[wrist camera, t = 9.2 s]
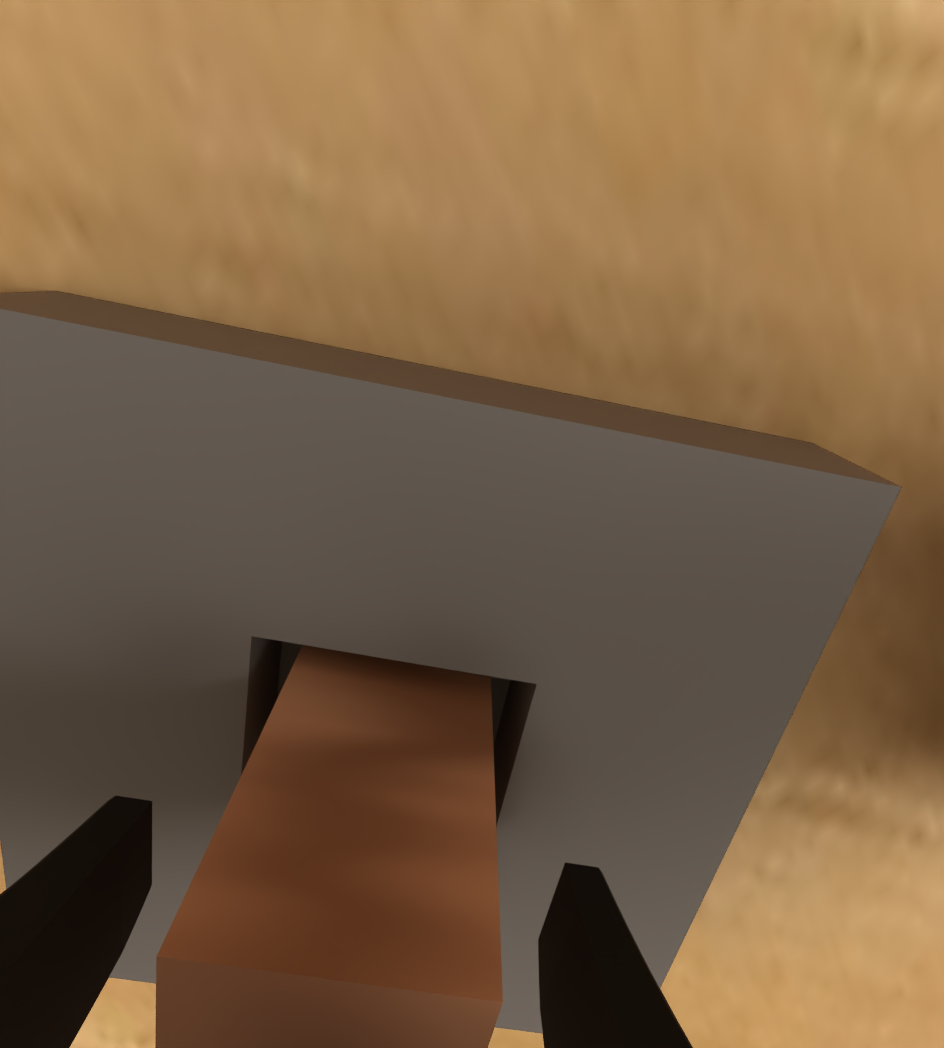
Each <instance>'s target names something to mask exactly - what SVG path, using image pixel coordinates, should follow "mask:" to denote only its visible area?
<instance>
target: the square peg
mask: <svg viewBox="0 0 944 1048" xmlns="http://www.w3.org/2000/svg"><path fill="white" fill-rule="evenodd" d="M502 1004H503V991H502V964H501V938H500V911H499V884H498V857H497V830H496V803H495V776H494V750H493V723H492V696H491V676H486V675H480V674H474V673H468V672H462V671H456V670H450V669H444V668H438V667H432V666H426V665H420V664H414V663H408V662H402V661H396V660H390V659H385V658H379V657H373V656H367V655H361V654H355V653H349V652H343V651H337V650H331V649H325V648H319V647H313V646H307V645H302V647H301V649H300V651H299V654H298V656H297V658H296V660H295V662H294V664H293V666H292V669H291V671H290V673H289V675H288V677H287V679H286V681H285V683H284V686H283V688H282V690H281V692H280V694H279V696H278V698H277V701H276V703H275V705H274V707H273V709H272V711H271V713H270V715H269V718H268V720H267V722H266V724H265V726H264V728H263V730H262V732H261V735H260V737H259V739H258V741H257V743H256V745H255V747H254V750H253V752H252V754H251V756H250V758H249V760H248V762H247V764H246V767H245V769H244V771H243V773H242V775H241V777H240V779H239V782H238V784H237V786H236V788H235V790H234V792H233V794H232V796H231V799H230V801H229V803H228V805H227V807H226V809H225V811H224V813H223V816H222V818H221V820H220V822H219V824H218V826H217V828H216V831H215V833H214V835H213V837H212V839H211V841H210V843H209V845H208V848H207V850H206V852H205V854H204V856H203V858H202V860H201V863H200V865H199V867H198V869H197V871H196V873H195V875H194V877H193V880H192V882H191V884H190V886H189V888H188V890H187V892H186V895H185V897H184V899H183V901H182V903H181V905H180V907H179V909H178V912H177V914H176V916H175V918H174V920H173V922H172V924H171V926H170V929H169V931H168V933H167V935H166V937H165V939H164V941H163V944H162V946H161V948H160V950H159V952H158V954H157V956H156V1048H488V1045H489V1042H490V1039H491V1036H492V1033H493V1030H494V1027H495V1024H496V1021H497V1018H498V1015H499V1012H500V1010H501V1007H502Z"/></svg>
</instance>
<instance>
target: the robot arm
mask: <svg viewBox="0 0 944 1048" xmlns="http://www.w3.org/2000/svg"><path fill="white" fill-rule="evenodd" d="M151 886H152V801H149V800H143V799H136V798H129V797H122V796H114V797H113V798H111V799H109V800H108V801H107V802H106V803H105V804H104V805H103V806H101V807H100V808H99V809H98V810H97V811H96V812H95V813H94V814H93V815H92V816H90V817H89V818H88V819H87V820H86V821H85V822H84V823H83V824H82V825H80V826H79V827H78V828H77V829H76V830H75V831H74V832H73V833H71V834H70V835H69V836H68V837H67V838H66V839H65V840H64V841H62V842H61V843H60V844H59V845H58V846H57V847H56V848H54V849H53V850H52V851H51V852H50V853H49V854H48V855H46V856H45V857H44V858H43V859H42V860H41V861H40V862H38V863H37V864H36V865H35V866H34V867H33V868H31V869H30V870H29V871H28V872H27V873H26V874H24V875H23V876H22V877H21V878H20V879H18V880H17V881H16V882H15V883H14V884H12V885H11V886H10V887H9V888H8V889H6V890H5V891H4V892H3V893H2V894H0V1048H69V1047H70V1046H71V1044H72V1042H73V1040H74V1039H75V1037H76V1035H77V1033H78V1031H79V1030H80V1028H81V1026H82V1024H83V1023H84V1021H85V1019H86V1017H87V1015H88V1014H89V1012H90V1010H91V1008H92V1007H93V1005H94V1003H95V1001H96V999H97V998H98V996H99V994H100V992H101V990H102V989H103V987H104V985H105V983H106V981H107V980H108V978H109V976H110V974H111V972H112V971H113V969H114V967H115V965H116V963H117V961H118V960H119V958H120V956H121V954H122V952H123V950H124V948H125V946H126V943H127V941H128V939H129V937H130V935H131V932H132V930H133V928H134V926H135V923H136V921H137V919H138V917H139V914H140V912H141V910H142V907H143V905H144V903H145V900H146V898H147V896H148V893H149V891H150V889H151ZM538 960H539V996H540V1014H541V1022H542V1031H543V1039H544V1048H693V1047H692V1045H691V1044H690V1042H689V1040H688V1038H687V1037H686V1035H685V1033H684V1031H683V1030H682V1028H681V1026H680V1024H679V1023H678V1021H677V1019H676V1017H675V1016H674V1014H673V1012H672V1010H671V1008H670V1006H669V1004H668V1003H667V1001H666V999H665V997H664V995H663V993H662V991H661V990H660V988H659V986H658V984H657V982H656V980H655V979H654V977H653V975H652V973H651V971H650V969H649V967H648V965H647V963H646V961H645V959H644V958H643V956H642V954H641V952H640V950H639V948H638V946H637V944H636V942H635V940H634V938H633V936H632V934H631V932H630V930H629V928H628V926H627V924H626V922H625V919H624V917H623V915H622V913H621V911H620V909H619V907H618V905H617V903H616V901H615V899H614V897H613V894H612V892H611V890H610V888H609V886H608V884H607V882H606V879H605V877H604V875H603V873H602V872H601V870H600V869H599V867H593V866H586V865H579V864H573V863H566V862H565V864H564V867H563V870H562V873H561V876H560V878H559V881H558V884H557V887H556V890H555V893H554V895H553V898H552V901H551V904H550V907H549V910H548V913H547V915H546V918H545V921H544V924H543V927H542V930H541V933H540V935H539V938H538Z"/></svg>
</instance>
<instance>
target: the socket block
mask: <svg viewBox="0 0 944 1048" xmlns="http://www.w3.org/2000/svg"><path fill="white" fill-rule="evenodd" d="M901 488H902V487H900V486H898V485H896V484H894V483H892V482H890V481H888V480H886V479H884V478H882V477H880V476H878V475H876V474H874V473H872V472H870V471H868V470H866V469H864V468H862V467H860V466H858V465H856V464H854V463H852V462H850V461H848V460H846V459H844V458H842V457H840V456H838V455H836V454H834V453H832V452H830V451H828V450H826V449H824V448H822V447H820V446H818V445H816V444H814V443H809V442H804V441H799V440H794V439H789V438H784V437H779V436H774V435H769V434H764V433H759V432H754V431H749V430H744V429H740V428H735V427H730V426H725V425H720V424H715V423H710V422H705V421H700V420H695V419H690V418H685V417H680V416H675V415H670V414H665V413H660V412H655V411H650V410H645V409H640V408H635V407H630V406H625V405H620V404H615V403H610V402H605V401H600V400H595V399H590V398H585V397H580V396H575V395H570V394H566V393H561V392H556V391H551V390H546V389H541V388H536V387H531V386H526V385H521V384H516V383H511V382H506V381H501V380H496V379H491V378H486V377H481V376H476V375H471V374H466V373H461V372H456V371H451V370H446V369H441V368H436V367H431V366H426V365H421V364H416V363H411V362H406V361H401V360H396V359H392V358H387V357H382V356H377V355H372V354H367V353H362V352H357V351H352V350H347V349H342V348H337V347H332V346H327V345H322V344H317V343H312V342H307V341H302V340H297V339H292V338H287V337H282V336H277V335H272V334H267V333H262V332H257V331H252V330H247V329H242V328H237V327H232V326H227V325H222V324H218V323H213V322H208V321H203V320H198V319H193V318H188V317H183V316H178V315H173V314H168V313H163V312H158V311H153V310H148V309H143V308H138V307H133V306H128V305H123V304H118V303H113V302H108V301H103V300H98V299H93V298H88V297H83V296H78V295H73V294H68V293H63V292H58V291H46V292H19V293H0V841H1V849H2V857H3V865H4V874H5V882H6V889H8V888H9V887H10V886H11V885H12V884H14V883H15V882H16V881H17V880H18V879H20V878H21V877H22V876H23V875H24V874H26V873H27V872H28V871H29V870H30V869H31V868H33V867H34V866H35V865H36V864H37V863H38V862H40V861H41V860H42V859H43V858H44V857H45V856H46V855H48V854H49V853H50V852H51V851H52V850H53V849H54V848H56V847H57V846H58V845H59V844H60V843H61V842H62V841H64V840H65V839H66V838H67V837H68V836H69V835H70V834H71V833H73V832H74V831H75V830H76V829H77V828H78V827H79V826H80V825H82V824H83V823H84V822H85V821H86V820H87V819H88V818H89V817H90V816H92V815H93V814H94V813H95V812H96V811H97V810H98V809H99V808H100V807H101V806H103V805H104V804H105V803H106V802H107V801H108V800H109V799H111V798H113V797H114V796H122V797H129V798H136V799H143V800H149V801H152V886H151V889H150V891H149V893H148V896H147V898H146V900H145V903H144V905H143V907H142V910H141V912H140V914H139V917H138V919H137V921H136V923H135V926H134V928H133V930H132V932H131V935H130V937H129V939H128V941H127V943H126V946H125V948H124V950H123V952H122V954H121V956H120V958H119V960H118V961H117V963H116V965H115V967H114V969H113V971H112V972H111V974H110V976H109V977H110V978H118V979H126V980H133V981H141V982H149V983H156V956H157V954H158V952H159V950H160V948H161V946H162V944H163V941H164V939H165V937H166V935H167V933H168V931H169V929H170V926H171V924H172V922H173V920H174V918H175V916H176V914H177V912H178V909H179V907H180V905H181V903H182V901H183V899H184V897H185V895H186V892H187V890H188V888H189V886H190V884H191V882H192V880H193V877H194V875H195V873H196V871H197V869H198V867H199V865H200V863H201V860H202V858H203V856H204V854H205V852H206V850H207V848H208V845H209V843H210V841H211V839H212V837H213V835H214V833H215V831H216V828H217V826H218V824H219V822H220V820H221V818H222V816H223V813H224V811H225V809H226V807H227V805H228V803H229V801H230V799H231V796H232V794H233V792H234V790H235V788H236V786H237V784H238V782H239V779H240V777H241V775H242V773H243V771H244V769H245V767H246V764H247V762H248V760H249V758H250V756H251V754H252V752H253V750H254V747H255V745H256V743H257V741H258V739H259V737H260V735H261V732H262V730H263V728H264V726H265V724H266V722H267V720H268V718H269V715H270V713H271V711H272V709H273V707H274V705H275V703H276V701H277V698H278V696H279V694H280V692H281V690H282V688H283V686H284V683H285V681H286V679H287V677H288V675H289V673H290V671H291V669H292V666H293V664H294V662H295V660H296V658H297V656H298V654H299V651H300V649H301V647H302V645H307V646H313V647H319V648H325V649H331V650H337V651H343V652H349V653H355V654H361V655H367V656H373V657H379V658H385V659H390V660H396V661H402V662H408V663H414V664H420V665H426V666H432V667H438V668H444V669H450V670H456V671H462V672H468V673H474V674H480V675H486V676H491V696H492V723H493V750H494V776H495V803H496V830H497V857H498V884H499V911H500V938H501V964H502V991H503V1004H502V1007H501V1010H500V1012H499V1015H498V1018H497V1021H496V1024H495V1027H497V1028H504V1029H512V1030H520V1031H527V1032H535V1033H543V1031H542V1022H541V1014H540V996H539V960H538V938H539V935H540V933H541V930H542V927H543V924H544V921H545V918H546V915H547V913H548V910H549V907H550V904H551V901H552V898H553V895H554V893H555V890H556V887H557V884H558V881H559V878H560V876H561V873H562V870H563V867H564V864H565V862H566V863H573V864H579V865H586V866H593V867H599V869H600V870H601V872H602V873H603V875H604V877H605V879H606V882H607V884H608V886H609V888H610V890H611V892H612V894H613V897H614V899H615V901H616V903H617V905H618V907H619V909H620V911H621V913H622V915H623V917H624V919H625V922H626V924H627V926H628V928H629V930H630V932H631V934H632V936H633V938H634V940H635V942H636V944H637V946H638V948H639V950H640V952H641V954H642V956H643V958H644V959H645V961H646V963H647V965H648V967H649V969H650V971H651V973H652V975H653V977H654V979H655V980H656V982H657V984H658V986H659V988H661V985H662V983H663V981H664V979H665V977H666V975H667V973H668V971H669V969H670V967H671V965H672V963H673V961H674V959H675V956H676V954H677V952H678V950H679V948H680V946H681V944H682V942H683V940H684V938H685V936H686V934H687V932H688V929H689V927H690V925H691V923H692V921H693V919H694V917H695V915H696V913H697V911H698V909H699V907H700V905H701V902H702V900H703V898H704V896H705V894H706V892H707V890H708V888H709V886H710V884H711V882H712V880H713V878H714V876H715V873H716V871H717V869H718V867H719V865H720V863H721V861H722V859H723V857H724V855H725V853H726V851H727V849H728V846H729V844H730V842H731V840H732V838H733V836H734V834H735V832H736V830H737V828H738V826H739V824H740V822H741V819H742V817H743V815H744V813H745V811H746V809H747V807H748V805H749V803H750V801H751V799H752V797H753V795H754V793H755V790H756V788H757V786H758V784H759V782H760V780H761V778H762V776H763V774H764V772H765V770H766V768H767V766H768V763H769V761H770V759H771V757H772V755H773V753H774V751H775V749H776V747H777V745H778V743H779V741H780V739H781V737H782V734H783V732H784V730H785V728H786V726H787V724H788V722H789V720H790V718H791V716H792V714H793V712H794V710H795V707H796V705H797V703H798V701H799V699H800V697H801V695H802V693H803V691H804V689H805V687H806V685H807V683H808V680H809V678H810V676H811V674H812V672H813V670H814V668H815V666H816V664H817V662H818V660H819V658H820V656H821V654H822V651H823V649H824V647H825V645H826V643H827V641H828V639H829V637H830V635H831V633H832V631H833V629H834V627H835V624H836V622H837V620H838V618H839V616H840V614H841V612H842V610H843V608H844V606H845V604H846V602H847V600H848V597H849V595H850V593H851V591H852V589H853V587H854V585H855V583H856V581H857V579H858V577H859V575H860V573H861V571H862V568H863V566H864V564H865V562H866V560H867V558H868V556H869V554H870V552H871V550H872V548H873V546H874V544H875V541H876V539H877V537H878V535H879V533H880V531H881V529H882V527H883V525H884V523H885V521H886V519H887V517H888V514H889V512H890V510H891V508H892V506H893V504H894V502H895V500H896V498H897V496H898V494H899V492H900V490H901Z"/></svg>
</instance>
